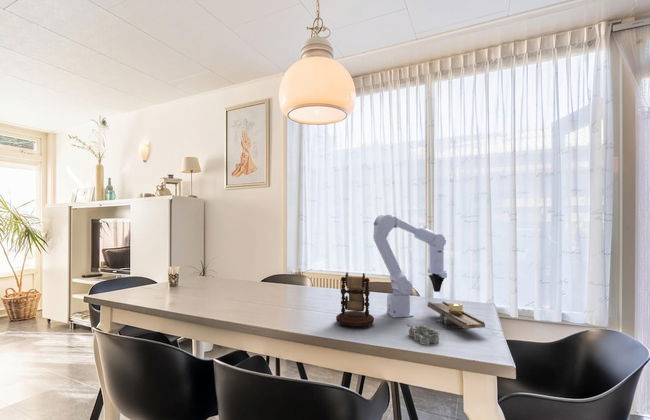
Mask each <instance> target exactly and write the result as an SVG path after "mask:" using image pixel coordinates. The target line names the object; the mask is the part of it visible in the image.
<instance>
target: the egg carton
mask: <svg viewBox="0 0 650 420" xmlns="http://www.w3.org/2000/svg"><path fill="white" fill-rule="evenodd" d="M407 326H408V328H409V330H408V337H410V338H413V339H414V341H419V340H420V341H419V343H420V344H421V343H425V344H424V345H426V344H428V345H430V343H429V342H432V344H439V341H440V340H439V339H440V337H439V335H440V334H441V332H438V331H436V330H435V329H433V328H430V326H428V325H419V326H417V325H416V326H415V328H414V327H413V325H410V324H409V323H407Z"/></svg>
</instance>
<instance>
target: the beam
mask: <svg viewBox="0 0 650 420" xmlns="http://www.w3.org/2000/svg"><path fill="white" fill-rule="evenodd" d="M427 307H428V308H430V309H431V310H433V311H434V312H436V313H437V314H439V315H440V313H443V314H444V318H448V319H449V320H451V321H453V322H454V323H456V324H458V325H459V326H461V327H463V328H462V329H480V328H486V323H485V321H483V320H481V319H479V318H478V317H475V316H473V315H471V314H470V313H467V312H465V311H464V310H463V315H461V316H455V315H452V314H451V313H449V303H448V302H446V301H442V302H437V303H434V302H431V301H428V303H427Z"/></svg>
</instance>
